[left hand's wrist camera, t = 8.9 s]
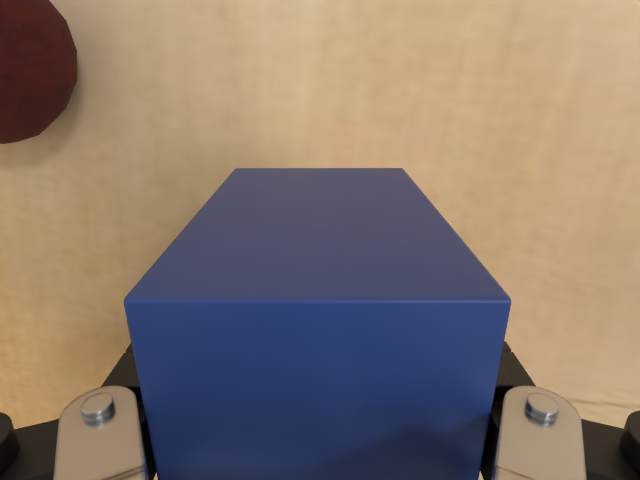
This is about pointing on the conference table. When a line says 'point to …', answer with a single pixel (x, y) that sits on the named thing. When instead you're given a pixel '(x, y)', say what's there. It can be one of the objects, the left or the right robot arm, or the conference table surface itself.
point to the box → (317, 334)
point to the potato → (33, 67)
